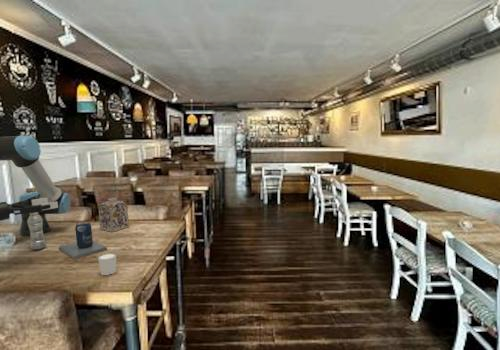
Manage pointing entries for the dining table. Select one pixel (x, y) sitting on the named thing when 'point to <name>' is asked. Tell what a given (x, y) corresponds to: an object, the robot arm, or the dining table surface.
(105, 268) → the white short cylinder
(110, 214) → the decorative jar
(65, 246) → the slate board
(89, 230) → the soda can
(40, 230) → the plastic bottle
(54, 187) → the robot arm
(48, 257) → the dining table surface
